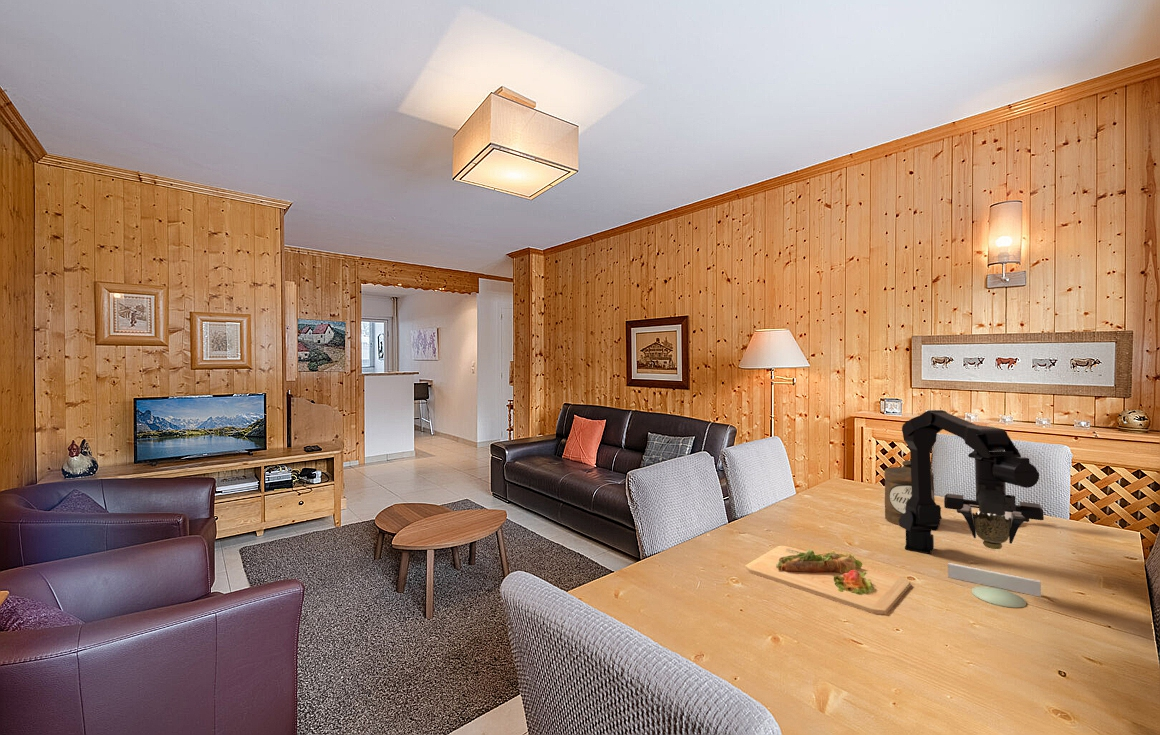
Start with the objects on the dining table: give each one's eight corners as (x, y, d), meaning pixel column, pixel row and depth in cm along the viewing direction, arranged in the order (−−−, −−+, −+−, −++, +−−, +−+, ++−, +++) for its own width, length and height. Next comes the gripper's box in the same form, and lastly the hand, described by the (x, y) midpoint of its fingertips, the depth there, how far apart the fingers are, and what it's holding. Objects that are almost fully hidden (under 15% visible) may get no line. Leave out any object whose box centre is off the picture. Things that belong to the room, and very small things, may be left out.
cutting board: (912, 586, 125) (911, 557, 125) (883, 620, 110) (882, 587, 110) (781, 549, 151) (780, 526, 151) (742, 572, 136) (742, 546, 136)
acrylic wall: (948, 577, 129) (947, 564, 129) (948, 575, 129) (948, 562, 129) (1041, 596, 117) (1040, 582, 117) (1040, 594, 118) (1040, 580, 118)
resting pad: (971, 599, 117) (971, 598, 117) (972, 584, 124) (972, 583, 124) (1027, 612, 110) (1027, 610, 110) (1024, 595, 118) (1024, 594, 118)
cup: (1020, 553, 116) (1018, 520, 117) (985, 552, 118) (984, 519, 118) (999, 543, 124) (998, 511, 124) (967, 541, 125) (966, 511, 125)
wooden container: (892, 526, 168) (891, 464, 168) (879, 513, 182) (878, 455, 182) (942, 530, 163) (941, 465, 163) (925, 516, 178) (924, 457, 177)
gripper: (942, 479, 121) (944, 542, 121) (1045, 489, 109) (1047, 558, 109) (944, 472, 129) (946, 530, 129) (1039, 480, 118) (1042, 544, 117)
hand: (992, 540), depth 121 cm, fingers closed on cup, 6 cm apart
